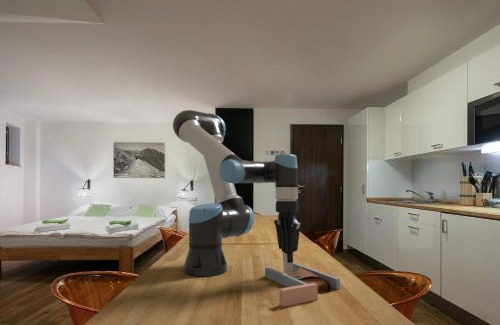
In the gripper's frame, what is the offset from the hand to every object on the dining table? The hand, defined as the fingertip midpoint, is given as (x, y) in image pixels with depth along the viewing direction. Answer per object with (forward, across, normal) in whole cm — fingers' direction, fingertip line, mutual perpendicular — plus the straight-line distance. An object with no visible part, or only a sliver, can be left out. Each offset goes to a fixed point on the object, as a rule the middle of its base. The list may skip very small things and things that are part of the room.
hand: (288, 272), depth 111 cm
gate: (+2, -21, +11) cm, 24 cm away
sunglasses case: (+3, -9, 0) cm, 9 cm away
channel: (+2, -7, 0) cm, 7 cm away
